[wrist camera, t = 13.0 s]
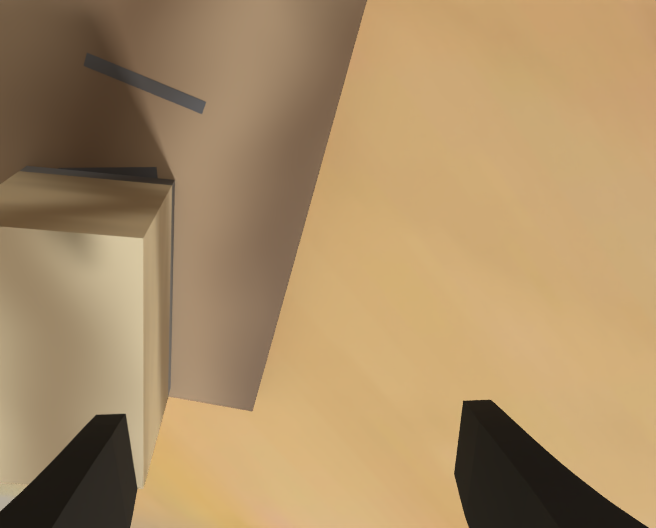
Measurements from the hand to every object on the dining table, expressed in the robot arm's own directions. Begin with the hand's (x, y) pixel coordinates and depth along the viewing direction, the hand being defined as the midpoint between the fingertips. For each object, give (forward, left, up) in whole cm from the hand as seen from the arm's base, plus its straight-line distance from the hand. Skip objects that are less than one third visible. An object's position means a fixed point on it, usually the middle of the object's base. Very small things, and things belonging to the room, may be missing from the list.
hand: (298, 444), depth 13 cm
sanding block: (+6, +2, -9) cm, 11 cm away
